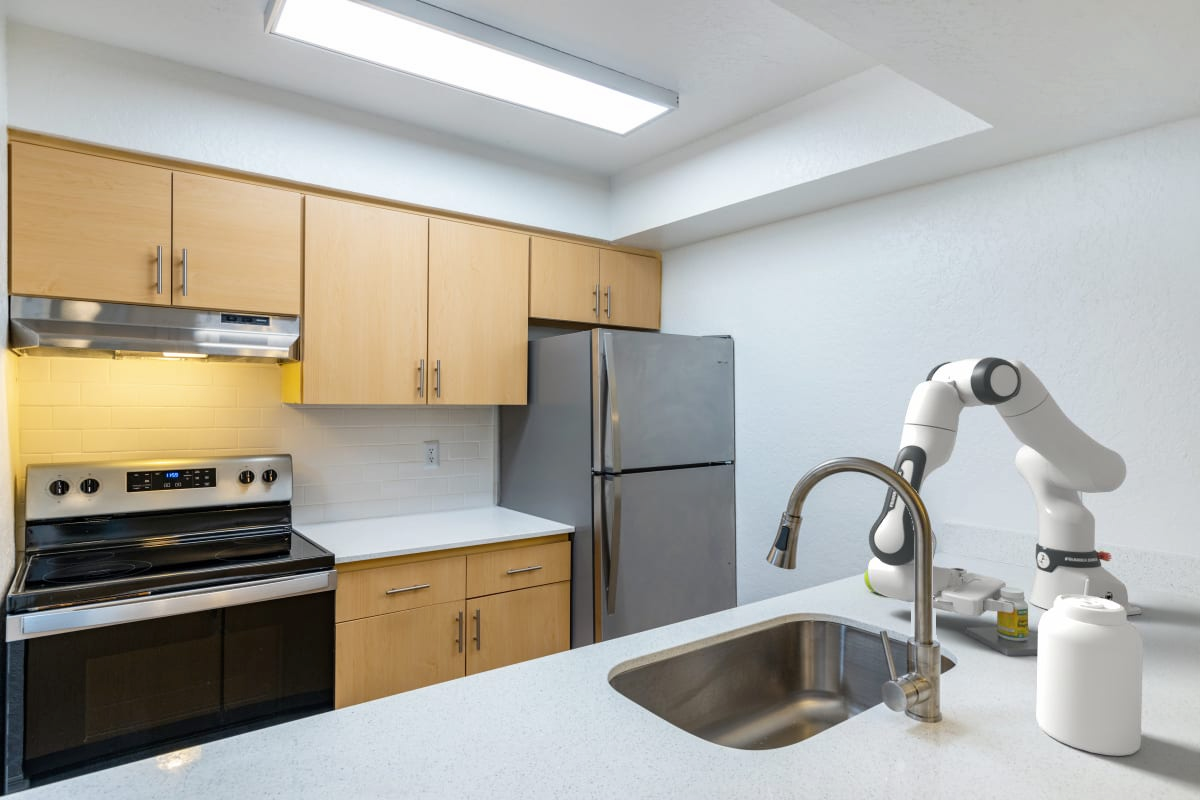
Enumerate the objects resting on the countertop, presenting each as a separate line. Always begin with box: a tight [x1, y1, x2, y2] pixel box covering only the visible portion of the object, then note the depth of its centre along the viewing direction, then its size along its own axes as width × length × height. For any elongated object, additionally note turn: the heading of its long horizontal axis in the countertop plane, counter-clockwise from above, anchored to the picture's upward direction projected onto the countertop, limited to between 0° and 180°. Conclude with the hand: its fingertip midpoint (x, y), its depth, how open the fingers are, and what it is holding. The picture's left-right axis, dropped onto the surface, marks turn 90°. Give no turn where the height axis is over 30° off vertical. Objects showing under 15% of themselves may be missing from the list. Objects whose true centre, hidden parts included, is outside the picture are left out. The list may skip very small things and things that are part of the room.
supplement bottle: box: [996, 586, 1029, 641], centre depth 136 cm, size 5×5×10 cm
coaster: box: [965, 626, 1038, 657], centre depth 136 cm, size 12×12×1 cm
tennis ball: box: [863, 568, 881, 595], centre depth 169 cm, size 7×7×7 cm
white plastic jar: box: [1035, 594, 1144, 757], centre depth 99 cm, size 12×12×20 cm
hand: (1018, 604), depth 135 cm, fingers open, 6 cm apart
